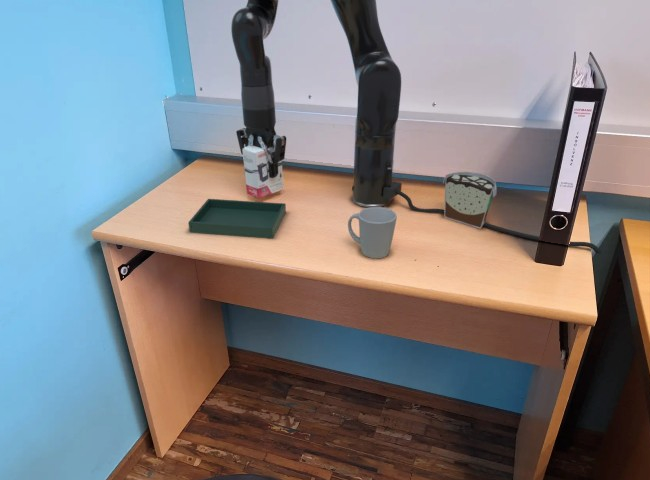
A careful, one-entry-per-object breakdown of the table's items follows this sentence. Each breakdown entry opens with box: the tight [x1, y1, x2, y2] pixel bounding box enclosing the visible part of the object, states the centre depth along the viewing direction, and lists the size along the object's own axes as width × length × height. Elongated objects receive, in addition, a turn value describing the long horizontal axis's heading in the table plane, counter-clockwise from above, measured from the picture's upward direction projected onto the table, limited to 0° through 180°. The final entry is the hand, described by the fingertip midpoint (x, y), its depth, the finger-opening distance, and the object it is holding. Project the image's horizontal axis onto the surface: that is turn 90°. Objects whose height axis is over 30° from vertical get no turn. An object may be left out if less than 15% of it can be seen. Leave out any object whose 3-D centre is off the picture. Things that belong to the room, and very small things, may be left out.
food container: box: [442, 171, 498, 230], centre depth 122 cm, size 12×6×10 cm, turn 47°
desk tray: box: [188, 198, 287, 239], centre depth 125 cm, size 19×13×2 cm
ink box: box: [242, 141, 285, 199], centre depth 134 cm, size 8×5×12 cm, turn 134°
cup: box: [347, 206, 398, 259], centre depth 111 cm, size 8×10×8 cm
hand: (263, 174), depth 134 cm, fingers closed on ink box, 5 cm apart
